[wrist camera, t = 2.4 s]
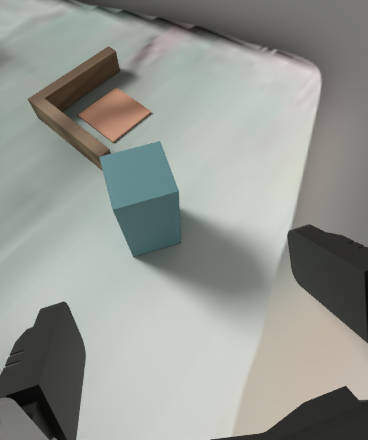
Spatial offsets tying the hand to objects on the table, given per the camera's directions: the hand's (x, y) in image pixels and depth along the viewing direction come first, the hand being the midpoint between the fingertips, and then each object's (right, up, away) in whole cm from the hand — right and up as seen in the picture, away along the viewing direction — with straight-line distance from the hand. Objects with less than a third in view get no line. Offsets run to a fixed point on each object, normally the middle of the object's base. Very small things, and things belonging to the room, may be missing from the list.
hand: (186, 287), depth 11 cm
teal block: (-4, +1, +22) cm, 22 cm away
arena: (-9, +16, +29) cm, 35 cm away
